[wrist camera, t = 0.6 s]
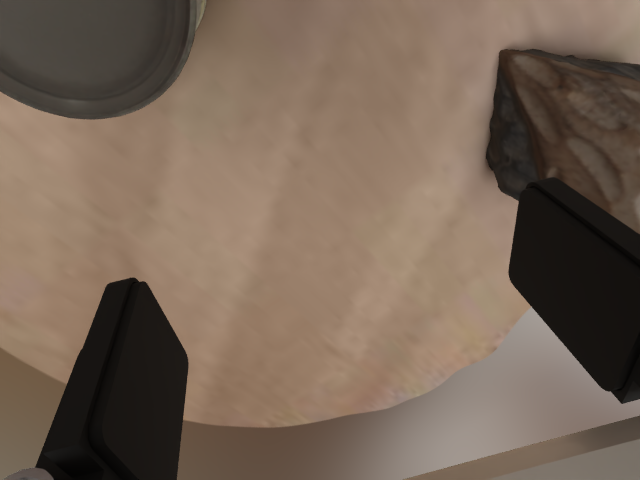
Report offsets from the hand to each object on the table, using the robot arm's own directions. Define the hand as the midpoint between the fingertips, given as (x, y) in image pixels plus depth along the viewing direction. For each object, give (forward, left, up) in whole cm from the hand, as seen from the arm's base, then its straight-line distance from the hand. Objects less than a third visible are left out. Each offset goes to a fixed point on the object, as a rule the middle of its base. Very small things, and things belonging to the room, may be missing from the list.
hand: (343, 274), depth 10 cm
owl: (-22, +11, -26) cm, 36 cm away
